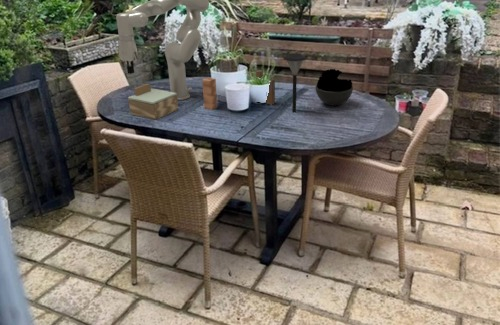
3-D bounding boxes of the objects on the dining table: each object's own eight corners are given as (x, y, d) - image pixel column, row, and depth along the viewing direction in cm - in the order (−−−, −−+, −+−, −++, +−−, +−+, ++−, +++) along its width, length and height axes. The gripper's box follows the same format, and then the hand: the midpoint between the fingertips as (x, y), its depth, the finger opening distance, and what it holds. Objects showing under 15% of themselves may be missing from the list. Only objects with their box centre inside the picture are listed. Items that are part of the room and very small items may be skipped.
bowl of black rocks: (337, 96, 257) (339, 64, 249) (359, 106, 241) (362, 72, 233) (307, 102, 250) (308, 69, 242) (328, 113, 234) (330, 77, 225)
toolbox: (154, 104, 254) (152, 90, 250) (178, 109, 245) (176, 95, 241) (130, 114, 240) (128, 99, 237) (155, 119, 231) (153, 105, 228)
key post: (210, 105, 249) (208, 77, 242) (217, 107, 246) (215, 78, 239) (204, 108, 245) (202, 79, 238) (211, 109, 243) (209, 81, 236)
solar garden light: (310, 112, 234) (312, 55, 221) (291, 117, 229) (292, 58, 216) (296, 106, 244) (297, 51, 231) (278, 111, 238) (278, 54, 225)
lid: (152, 90, 250) (151, 81, 248) (176, 94, 241) (175, 85, 239) (128, 99, 237) (126, 89, 234) (153, 104, 228) (151, 94, 225)
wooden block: (272, 105, 247) (272, 73, 239) (255, 102, 252) (254, 71, 244) (275, 103, 250) (275, 71, 242) (258, 100, 254) (257, 69, 247)
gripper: (111, 38, 233) (116, 72, 241) (131, 40, 226) (135, 76, 234) (122, 35, 239) (126, 69, 247) (142, 38, 232) (146, 73, 239)
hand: (131, 73), depth 240 cm, fingers closed
